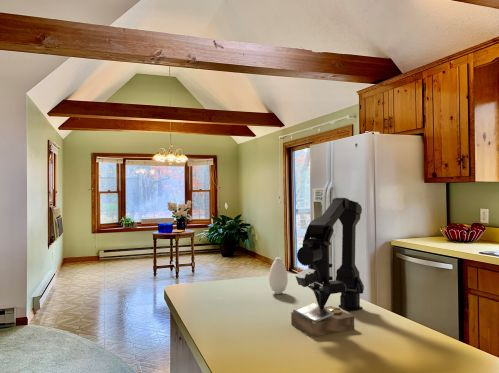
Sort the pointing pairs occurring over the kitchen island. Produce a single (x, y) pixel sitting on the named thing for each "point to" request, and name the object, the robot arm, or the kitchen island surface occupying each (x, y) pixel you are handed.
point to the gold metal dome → (334, 310)
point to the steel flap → (315, 312)
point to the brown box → (322, 323)
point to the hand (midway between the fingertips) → (321, 308)
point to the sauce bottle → (278, 276)
